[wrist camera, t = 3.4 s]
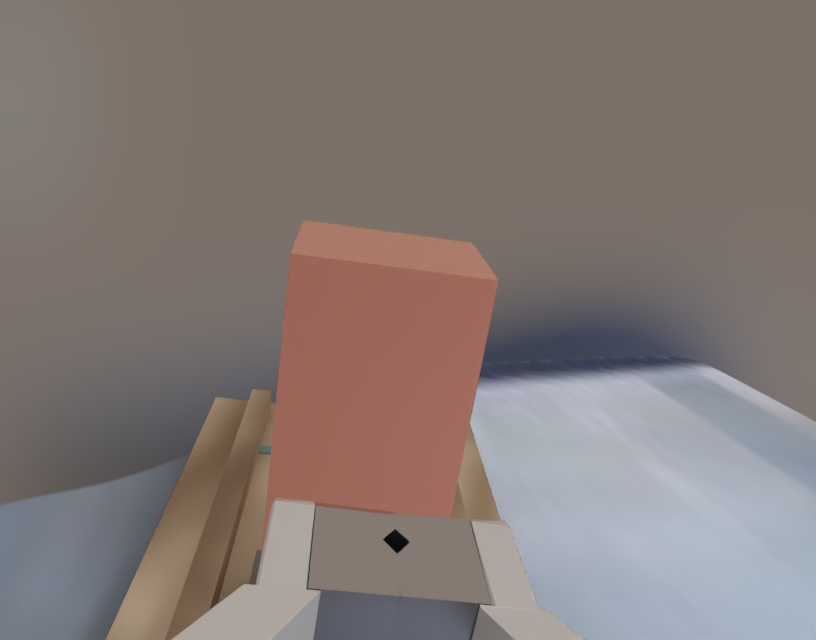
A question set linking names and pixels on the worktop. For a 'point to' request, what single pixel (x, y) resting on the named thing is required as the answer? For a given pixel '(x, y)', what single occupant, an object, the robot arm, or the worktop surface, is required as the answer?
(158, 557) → the tan flat ridged board
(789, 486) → the worktop surface
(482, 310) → the salmon orange rectangular block
